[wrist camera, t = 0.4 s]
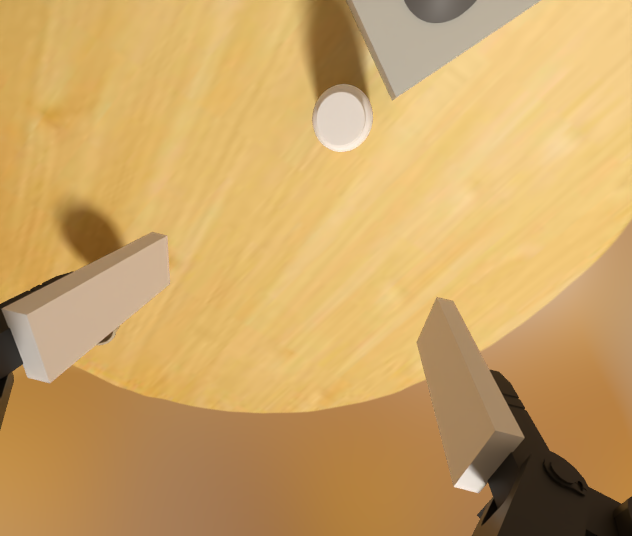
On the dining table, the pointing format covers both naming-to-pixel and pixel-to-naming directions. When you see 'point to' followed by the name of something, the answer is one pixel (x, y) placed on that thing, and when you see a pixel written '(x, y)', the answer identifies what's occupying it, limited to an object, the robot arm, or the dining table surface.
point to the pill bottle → (342, 117)
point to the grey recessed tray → (426, 33)
